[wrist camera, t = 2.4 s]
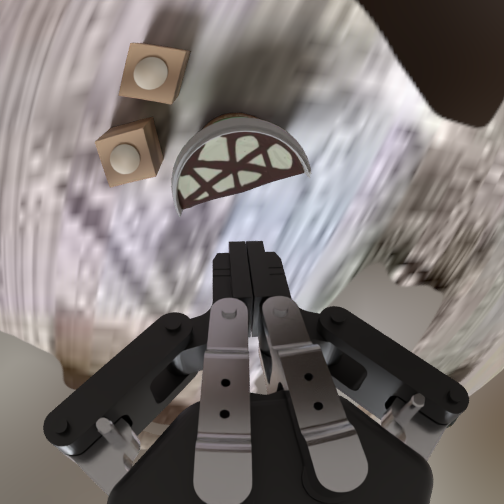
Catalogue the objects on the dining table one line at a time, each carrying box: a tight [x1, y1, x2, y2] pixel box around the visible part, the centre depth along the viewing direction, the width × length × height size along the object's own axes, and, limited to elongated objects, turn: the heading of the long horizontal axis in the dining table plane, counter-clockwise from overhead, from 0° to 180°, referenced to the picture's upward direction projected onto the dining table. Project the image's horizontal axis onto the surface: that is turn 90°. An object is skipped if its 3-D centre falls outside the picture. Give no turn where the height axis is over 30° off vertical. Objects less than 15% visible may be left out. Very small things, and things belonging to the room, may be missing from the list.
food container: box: [171, 113, 311, 217], centre depth 28 cm, size 12×6×10 cm, turn 106°
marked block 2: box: [95, 117, 163, 187], centre depth 30 cm, size 5×5×5 cm
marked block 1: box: [119, 43, 191, 104], centre depth 25 cm, size 5×5×5 cm
